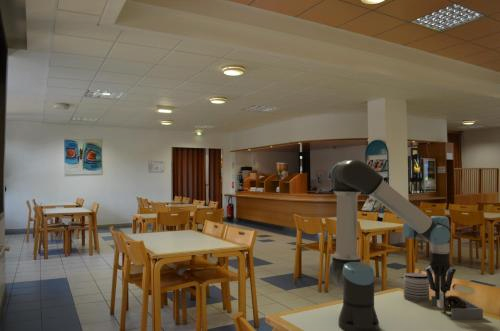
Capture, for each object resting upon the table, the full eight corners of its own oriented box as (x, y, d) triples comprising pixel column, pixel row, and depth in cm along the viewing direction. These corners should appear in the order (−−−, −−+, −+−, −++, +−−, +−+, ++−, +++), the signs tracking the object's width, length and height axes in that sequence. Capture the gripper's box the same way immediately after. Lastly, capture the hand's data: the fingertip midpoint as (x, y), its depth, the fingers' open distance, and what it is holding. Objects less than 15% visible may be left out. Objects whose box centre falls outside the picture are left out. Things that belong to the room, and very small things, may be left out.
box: (452, 319, 161) (452, 309, 161) (431, 304, 179) (431, 296, 179) (482, 319, 161) (482, 309, 161) (458, 305, 179) (458, 296, 179)
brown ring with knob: (474, 318, 164) (467, 302, 162) (452, 327, 165) (445, 311, 164) (461, 302, 175) (454, 287, 174) (441, 310, 177) (433, 295, 175)
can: (406, 301, 183) (405, 275, 184) (401, 294, 195) (401, 270, 195) (432, 303, 181) (432, 277, 182) (426, 296, 192) (425, 271, 193)
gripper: (450, 250, 175) (450, 304, 174) (421, 250, 174) (421, 304, 174) (459, 253, 167) (460, 310, 166) (429, 253, 167) (429, 310, 166)
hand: (440, 307), depth 170 cm, fingers closed
